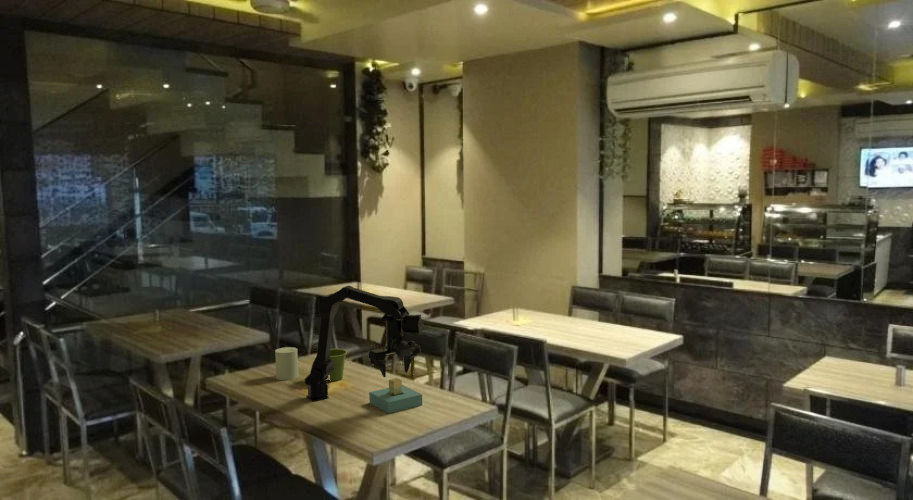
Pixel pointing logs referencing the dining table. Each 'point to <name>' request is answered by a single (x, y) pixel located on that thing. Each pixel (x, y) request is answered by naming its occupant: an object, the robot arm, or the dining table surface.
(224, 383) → the dining table surface
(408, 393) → the socket block
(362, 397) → the dining table surface
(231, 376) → the dining table surface
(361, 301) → the robot arm
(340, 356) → the plant pot
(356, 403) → the dining table surface
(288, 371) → the can
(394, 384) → the peg
